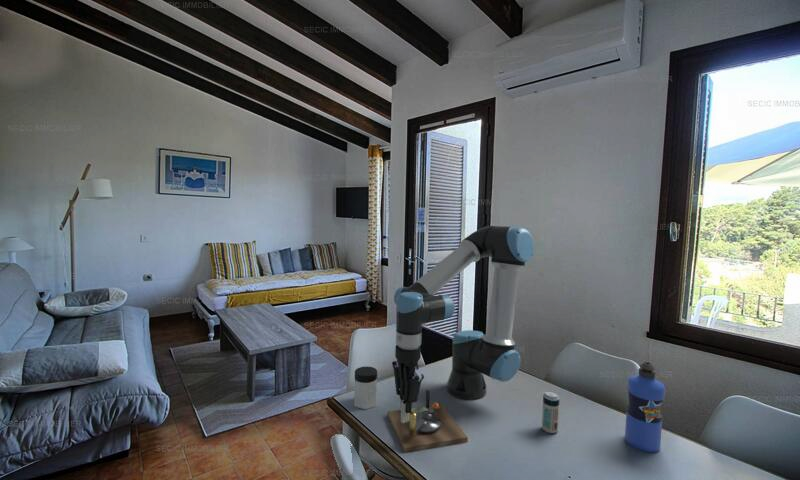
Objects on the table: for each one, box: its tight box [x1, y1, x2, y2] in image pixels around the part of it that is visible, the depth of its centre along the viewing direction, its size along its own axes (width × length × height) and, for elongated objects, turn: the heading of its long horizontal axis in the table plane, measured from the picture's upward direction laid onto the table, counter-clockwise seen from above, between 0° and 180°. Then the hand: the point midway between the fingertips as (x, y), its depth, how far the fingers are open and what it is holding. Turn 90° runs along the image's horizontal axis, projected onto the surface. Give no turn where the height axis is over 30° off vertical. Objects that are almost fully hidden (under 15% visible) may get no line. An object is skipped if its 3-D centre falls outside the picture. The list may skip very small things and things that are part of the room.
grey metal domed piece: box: [409, 401, 441, 436], centre depth 117 cm, size 19×10×8 cm, turn 151°
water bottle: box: [624, 361, 666, 454], centre depth 112 cm, size 9×9×25 cm
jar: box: [353, 366, 378, 410], centre depth 133 cm, size 9×8×12 cm
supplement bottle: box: [541, 390, 561, 434], centre depth 118 cm, size 5×5×12 cm
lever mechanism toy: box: [386, 389, 469, 454], centre depth 118 cm, size 20×20×8 cm
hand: (405, 420), depth 111 cm, fingers closed
